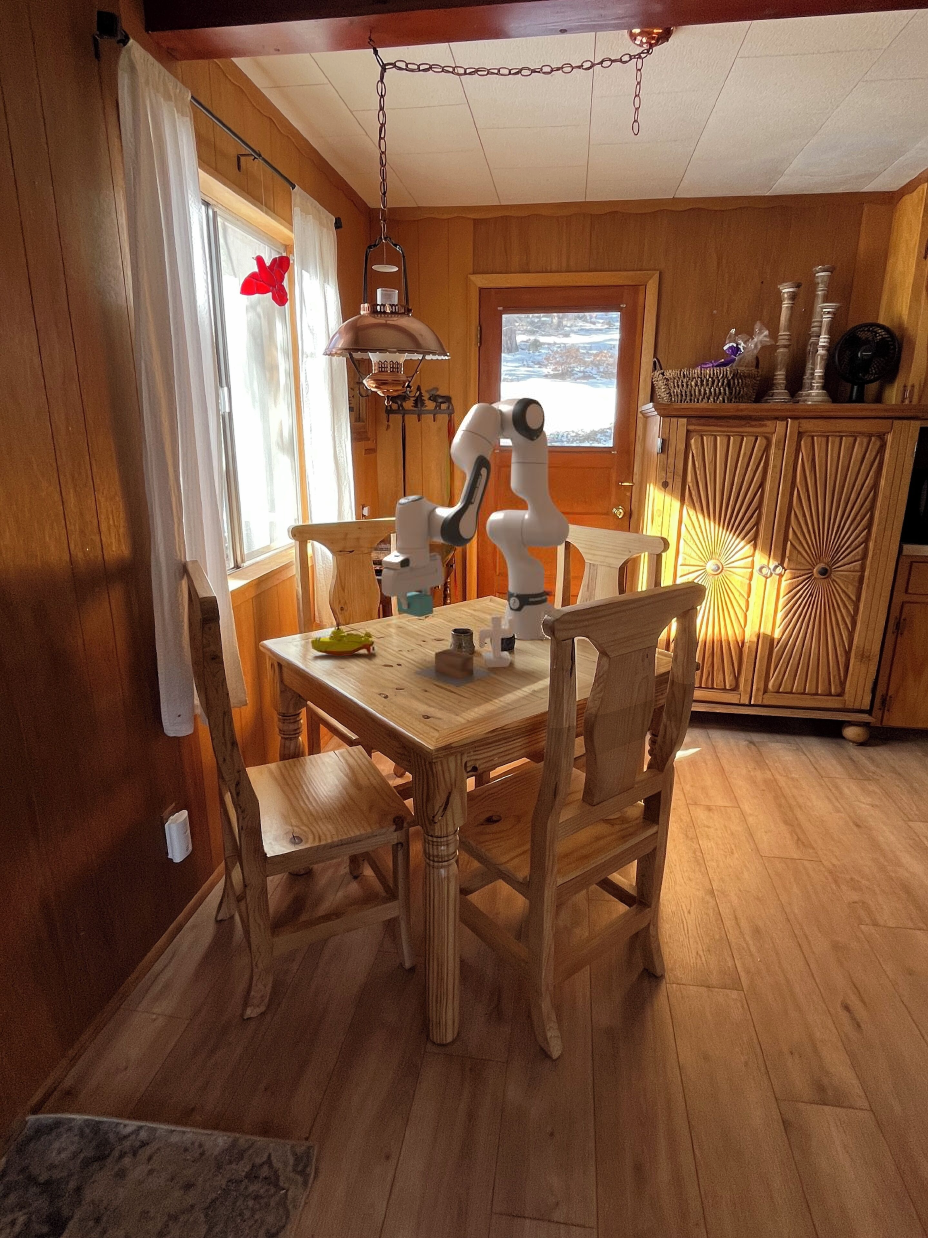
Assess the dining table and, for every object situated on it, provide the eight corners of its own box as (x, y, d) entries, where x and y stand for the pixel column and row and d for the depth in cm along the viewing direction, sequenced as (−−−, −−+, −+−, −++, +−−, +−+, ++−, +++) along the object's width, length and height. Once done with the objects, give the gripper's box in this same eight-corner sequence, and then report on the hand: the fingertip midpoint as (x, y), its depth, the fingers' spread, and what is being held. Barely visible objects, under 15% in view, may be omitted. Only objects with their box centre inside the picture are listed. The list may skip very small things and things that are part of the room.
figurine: (477, 665, 193) (477, 612, 189) (511, 664, 194) (511, 611, 190) (480, 674, 186) (480, 619, 182) (515, 672, 187) (516, 618, 183)
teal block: (410, 608, 198) (410, 590, 197) (433, 613, 192) (432, 595, 191) (397, 611, 195) (396, 594, 193) (419, 617, 189) (419, 599, 187)
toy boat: (374, 657, 201) (372, 623, 198) (310, 659, 199) (308, 625, 197) (375, 650, 207) (373, 618, 204) (313, 652, 206) (311, 619, 203)
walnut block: (448, 666, 187) (448, 648, 186) (473, 674, 181) (473, 655, 180) (435, 671, 184) (434, 653, 182) (460, 679, 178) (459, 660, 176)
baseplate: (451, 665, 193) (451, 660, 193) (494, 678, 182) (495, 672, 182) (413, 678, 183) (413, 672, 183) (457, 692, 173) (457, 686, 172)
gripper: (432, 550, 199) (433, 597, 202) (376, 561, 184) (379, 611, 188) (448, 552, 194) (449, 600, 198) (392, 564, 180) (394, 615, 184)
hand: (414, 606), depth 193 cm, fingers closed on teal block, 5 cm apart
